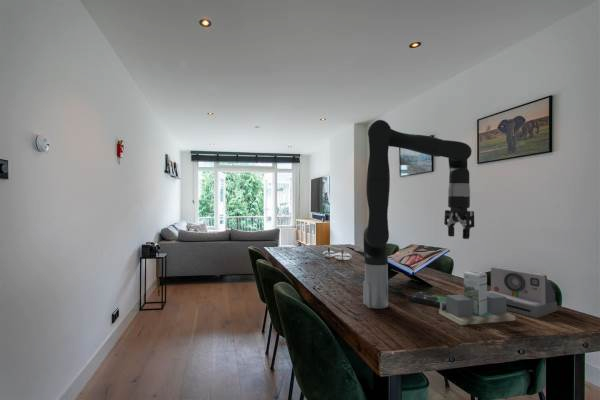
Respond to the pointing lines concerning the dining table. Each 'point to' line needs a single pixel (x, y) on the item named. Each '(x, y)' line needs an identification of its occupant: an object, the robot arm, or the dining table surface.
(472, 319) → the board
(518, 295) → the instant camera
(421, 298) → the disk drive
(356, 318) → the dining table surface
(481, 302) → the syrup box
